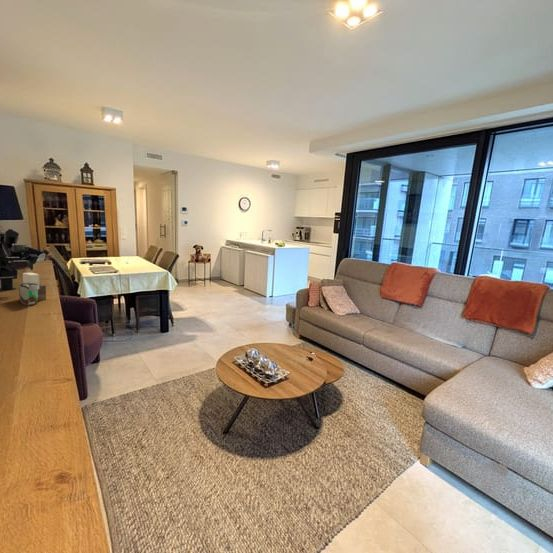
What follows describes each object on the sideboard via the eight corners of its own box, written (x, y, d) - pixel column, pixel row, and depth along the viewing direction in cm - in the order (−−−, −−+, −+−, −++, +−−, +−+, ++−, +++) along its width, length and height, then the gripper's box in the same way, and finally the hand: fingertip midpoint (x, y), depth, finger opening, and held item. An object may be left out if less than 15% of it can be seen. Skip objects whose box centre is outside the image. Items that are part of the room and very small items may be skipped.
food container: (44, 304, 154) (43, 285, 152) (29, 306, 148) (29, 286, 147) (34, 300, 160) (33, 281, 159) (19, 301, 155) (19, 282, 153)
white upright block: (23, 298, 163) (22, 273, 161) (32, 297, 166) (31, 272, 164) (31, 301, 159) (30, 275, 157) (39, 299, 162) (39, 274, 160)
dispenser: (19, 301, 157) (18, 286, 156) (41, 298, 165) (41, 284, 164) (23, 302, 154) (23, 287, 153) (46, 299, 163) (45, 285, 162)
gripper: (-7, 239, 158) (5, 260, 154) (35, 240, 175) (46, 259, 170) (-12, 254, 162) (-1, 275, 158) (29, 253, 179) (40, 272, 175)
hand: (22, 270), depth 165 cm, fingers open, 9 cm apart
